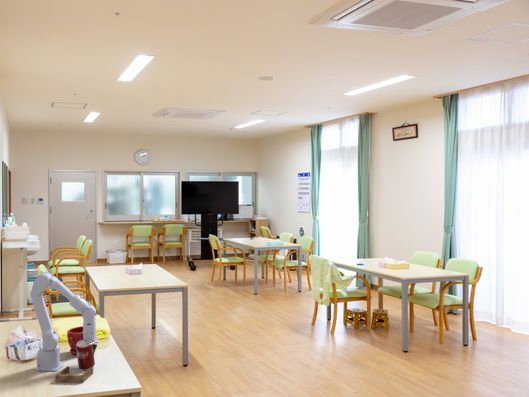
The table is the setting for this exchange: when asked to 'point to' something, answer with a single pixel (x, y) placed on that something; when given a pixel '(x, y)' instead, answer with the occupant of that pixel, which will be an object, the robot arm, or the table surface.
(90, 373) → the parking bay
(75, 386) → the table surface
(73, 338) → the plant pot
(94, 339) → the robot arm
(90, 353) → the soda can
